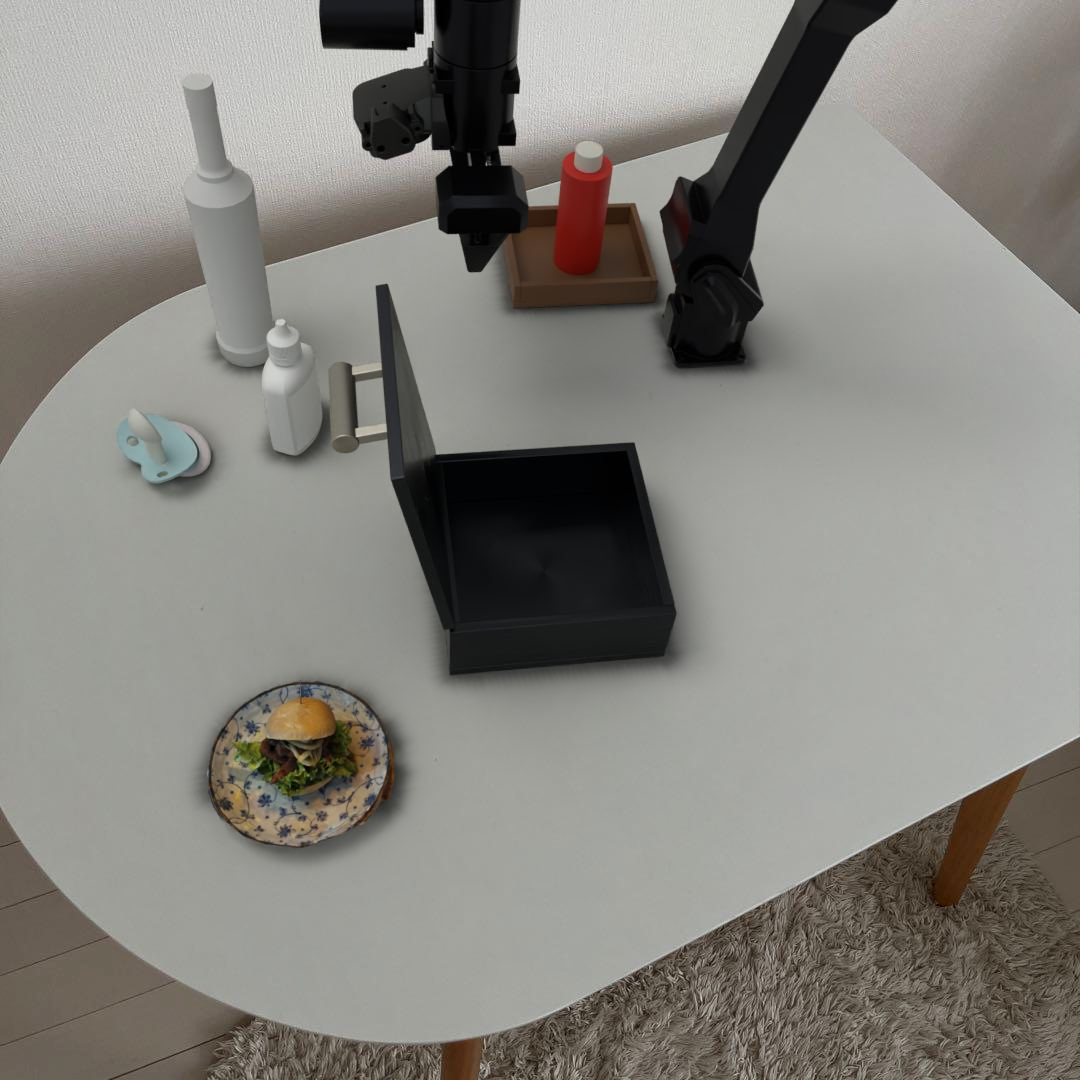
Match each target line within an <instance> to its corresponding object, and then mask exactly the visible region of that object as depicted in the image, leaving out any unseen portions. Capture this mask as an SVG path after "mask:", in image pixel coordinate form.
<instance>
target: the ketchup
mask: <svg viewBox="0 0 1080 1080" xmlns="http://www.w3.org/2000/svg"><path fill="white" fill-rule="evenodd" d="M613 166H614V165H613V162H612V161H611V159H609V157H608V156H607V155H605V154H604V148H603V146H602V145H601V144H600V143H598V142H595V141H591V140H584V141H581V142H578V143H577V144H576V145H575V148H574V151H572V152H569V153H568V154H566V156H565V157H564V158H563V159H562V163H561V173H560V185H559V192H558V193H559V194H558V203H557V205H558V213H557V223H556V234H555V244H554V254H553V261H554V263H555V265H556V266H557V267H558V268H559V269H560V270H562V271H563V272H565V273H568V274H572V275H585V274H589V273H591V272H593V271H594V270H596V269H597V267H598V266H599V263H600V255H601V248H602V241H603V234H604V227H605V220H606V213H607V206H608V204H609V197H610V191H611V183H612V178H613V169H614V167H613Z"/></svg>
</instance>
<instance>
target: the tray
mask: <svg viewBox="0 0 1080 1080" xmlns="http://www.w3.org/2000/svg"><path fill="white" fill-rule="evenodd" d="M557 213H558V204H557V205H529V210H528V221H527V228H526V229H525V230H524V231H522V232H521V233H511V234H510V235H509V236H508V237H507V238H506V239H505V241H504V242H503V243H502V244H501V249H502V254H503V259H504V265H505V270H506V277H507V281H508V287H509V294H510V298H511V304H512V308H513V309H525V308H526V309H528V308H547V307H548V308H549V307H551V308H552V307H571V306H593V305H614V304H636V303H637V304H638V303H654V302H655V300H656V294H657V289H658V285H659V278H658V275H657V271H656V268H655V265H654V262H653V261H654V260H653V258H652V255H651V250H650V248H649V244H648V241H647V238H646V234H645V231H644V228H643V224H642V221H641V218H640V214H639V210H638V207H637V204H636V202H623V203H621V202H619V203H608V206H607V213H606V220H605V227H604V234H603V241H602V248H601V255H600V263H599V266H598V267H597V269H596V270H594V271H593V272H591V273H589V274H585V275H572V274H568V273H565V272H563V271H562V270H560V269H559V268H558V267H557V266H556V265H555V263H554V261H553V254H554V244H555V234H556V223H557Z"/></svg>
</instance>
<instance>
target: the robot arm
mask: <svg viewBox="0 0 1080 1080" xmlns="http://www.w3.org/2000/svg"><path fill="white" fill-rule="evenodd" d="M898 1H899V0H794V2H793V4H792V6H791V8H790V10H789V12H788V14H787V16H786V18H785V20H784V22H783V24H782V26H781V28H780V30H779V32H778V34H777V36H776V38H775V40H774V42H773V45H772V46H771V48H770V50H769V52H768V54H767V56H766V58H765V60H764V62H763V64H762V66H761V68H760V69H759V72H758V74H757V76H756V78H755V80H754V82H753V84H752V85H751V88H750V90H749V93H748V94H747V96H746V98H745V100H744V101H743V104H742V106H741V108H740V110H739V112H738V114H737V116H736V118H735V120H734V122H733V124H732V126H731V128H730V130H729V131H728V134H727V136H726V137H725V140H724V142H723V144H722V145H721V148H720V150H719V152H718V154H717V156H716V158H715V160H714V162H713V164H712V166H711V167H710V168H709V170H707V171H706V172H705V173H703V174H702V175H700V176H699V177H698V178H696V179H694V180H692V179H690V178H689V179H688V178H686V177H684V176H682V175H681V176H680V175H679V176H678V177H677V179H675V182H674V187H673V191H672V192H671V196H670V198H669V199H668V201H667V203H666V204H664V206H663V207H662V208H661V209H660V210H659V211H658V212H659V217H660V221H661V223H662V224H661V225H662V234H663V238H664V239H663V240H664V242H665V247H666V250H667V251H666V252H667V256H668V260H669V263H670V264H669V265H670V267H671V273H672V277H673V280H674V284H675V288H674V292H670V293H669V294H668V295H667V297H666V298H667V299H666V303H665V307H664V312H663V314H662V317H661V322H662V323H661V331H662V335H663V338H664V342H665V345H666V348H668V349H669V350H670V353H671V356H672V360H673V363H674V365H675V366H676V367H678V368H695V367H709V366H710V367H712V366H714V367H715V366H729V365H730V366H731V365H732V366H733V365H743V364H745V363H746V361H747V355H746V352H745V349H744V345H743V343H744V340H745V337H746V336H745V335H746V332H747V329H748V325H749V322H753V321H754V319H755V318H756V317H757V315H758V314H759V313H760V312H761V310H762V309H763V307H764V306H765V303H764V300H763V295H762V293H761V289H760V286H759V283H758V279H757V275H756V272H755V269H754V266H753V262H752V259H751V256H752V253H753V251H754V249H755V240H756V235H757V227H758V221H759V214H760V213H759V212H760V207H761V205H762V202H763V201H764V199H765V197H766V196H767V194H768V191H769V189H770V188H771V186H772V184H773V182H774V181H775V179H776V177H777V175H778V174H779V172H780V170H781V168H782V167H783V165H784V163H785V161H786V159H787V158H788V155H789V154H790V152H791V150H792V149H793V147H794V145H795V143H796V141H797V139H798V138H799V136H800V134H801V132H802V130H803V129H804V127H805V125H806V123H807V121H808V120H809V118H810V116H811V115H812V112H813V111H814V109H815V107H816V105H817V104H818V102H819V100H820V98H821V96H822V95H823V93H824V91H825V90H826V87H827V85H828V84H829V83H830V80H831V79H832V77H833V75H834V73H835V71H836V69H837V68H838V66H839V64H840V63H841V61H842V59H843V57H844V55H845V53H846V52H847V50H848V48H849V47H850V45H851V43H852V42H853V40H854V39H855V38H856V37H857V36H858V35H859V34H860V33H862V32H863V31H865V30H866V29H868V28H869V27H871V26H872V25H873V24H875V23H877V22H878V21H879V20H881V19H883V18H884V17H885V16H887V15H888V14H889V13H890V11H892V9H893V8H894V6H896V4H897V2H898ZM521 2H522V0H433V40H431V46H428V47H426V51H427V52H426V57H427V58H426V59H425V60H424V61H423V62H422V65H420V66H417V67H416V66H415V67H412V68H411V67H410V68H409V67H408V68H402V69H398V70H396V71H392V72H389V73H387V74H383V75H381V76H378V77H375V78H371V79H368V80H366V81H363V82H361V83H359V84H357V85H356V86H355V88H354V89H353V90H352V94H351V95H352V96H351V97H352V117H353V121H354V123H355V125H356V127H357V129H358V131H359V133H360V137H361V148H362V149H363V150H364V151H366V152H368V153H369V154H370V156H371V157H372V158H375V159H380V160H383V161H387V160H391V159H394V158H397V157H400V156H404V155H407V154H409V153H412V152H413V151H414V150H415V148H416V145H418V144H420V143H423V142H425V141H427V140H428V139H429V138H430V139H431V140H430V144H431V151H449V156H450V161H451V165H448V166H446V167H445V168H444V169H443V170H442V171H440V173H439V174H437V175H436V176H435V177H434V178H435V179H434V180H435V181H434V182H435V187H434V188H435V207H436V217H437V228H438V230H439V231H441V232H442V233H444V234H446V235H458V236H459V241H460V245H461V249H462V253H463V258H464V262H465V266H466V270H467V272H468V273H472V274H473V273H482V272H483V271H484V269H485V268H486V267H487V265H488V264H489V262H490V261H491V259H492V258H493V257H494V255H495V254H496V253H497V251H498V250H499V249H500V247H502V243H503V242H504V241H505V239H506V238H507V237H508V236H509V235H510V234H511V233H521V232H522V231H524V230H525V229H526V228H527V221H528V210H529V206H530V205H529V201H528V194H527V189H526V183H525V179H524V175H523V174H522V173H520V172H519V171H518V169H516V168H515V167H514V166H513V165H511V164H510V165H509V164H507V165H506V164H505V165H504V164H503V165H502V159H501V154H500V153H501V152H500V147H517V146H516V145H517V135H518V134H517V129H516V122H515V117H514V112H515V111H514V110H515V98H516V97H515V95H520V91H521V76H520V71H519V67H518V52H519V51H518V50H519V49H518V48H519V34H520V19H521V4H522V3H521ZM318 18H319V19H318V20H319V29H320V30H319V31H320V39H321V46H322V49H325V50H359V51H361V50H365V51H396V52H397V51H399V52H400V51H402V52H403V51H404V52H406V51H408V48H409V49H415V48H416V35H418V36H419V35H422V36H423V35H425V0H319V4H318Z"/></svg>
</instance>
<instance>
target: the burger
mask: <svg viewBox="0 0 1080 1080" xmlns="http://www.w3.org/2000/svg"><path fill="white" fill-rule="evenodd" d="M387 732H388V731H387V729H386V728H385V725H384V724H383V722H382V720H381V718H380V716H379V715H378V714H377V712H376V711H375V709H374V708H373V707H372V706H371V705H370V704H369V703H368V702H367V701H366V700H365V699H364V698H361V697H360V696H358V695H357V694H355V693H353V692H351V691H349V690H347V689H346V688H344V687H341V686H339V685H333V684H330V683H327V682H323V681H320V680H315V681H302V679H300V680H299V681H293V682H288V683H284V684H280V685H277V686H274V687H272V688H270V689H267V690H264V691H262V692H259V693H258V694H257V695H255V696H253V697H251V698H250V699H249V700H247V701H245V702H244V703H243V704H241V705H240V706H239V707H238V708H236V710H234V712H233V713H231V715H230V716H229V718H228V719H227V721H226V722H225V723H224V725H223V726H222V727H221V729H220V731H218V734H217V735H216V737H215V740H214V742H213V745H212V747H211V749H210V750H211V751H210V754H209V760H208V766H207V770H206V773H207V774H206V775H207V780H208V781H207V784H208V791H207V793H208V796H209V798H210V802H211V805H212V807H213V809H214V811H215V812H216V814H217V816H218V817H219V819H221V820H222V821H223V822H225V823H226V824H228V825H229V826H231V827H232V828H233V829H234V830H235V831H237V833H239V834H240V835H241V836H243V837H245V838H247V839H249V840H252V841H254V842H257V843H260V844H262V845H268V846H276V847H283V848H284V847H285V848H292V849H304V848H308V847H310V846H313V845H316V844H318V843H321V842H324V841H326V840H329V839H332V838H336V837H339V836H342V835H344V834H345V835H346V834H347V833H348V832H349V831H350V830H352V829H354V828H356V827H357V826H359V825H362V826H363V825H364V824H365V823H366V822H367V821H368V820H369V819H370V818H371V817H372V816H373V814H374V813H375V811H376V810H377V809H378V807H379V806H380V805H381V803H382V801H385V802H388V800H389V799H390V796H391V793H392V788H393V784H394V780H395V764H394V763H395V762H394V761H395V760H394V759H395V757H394V756H395V753H394V750H393V746H392V743H391V741H390V738H389V735H388V733H387Z"/></svg>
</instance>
